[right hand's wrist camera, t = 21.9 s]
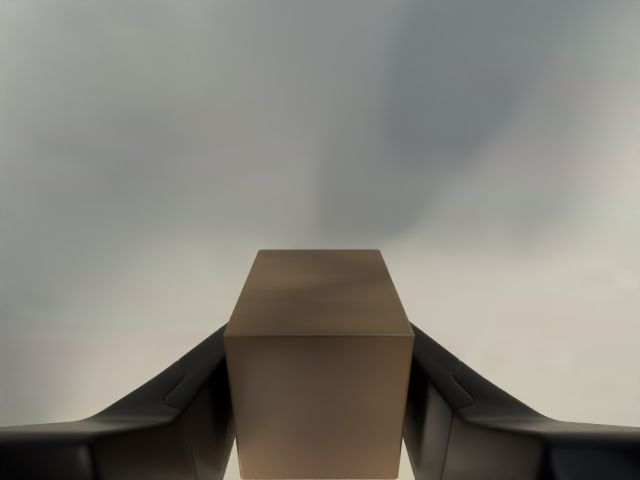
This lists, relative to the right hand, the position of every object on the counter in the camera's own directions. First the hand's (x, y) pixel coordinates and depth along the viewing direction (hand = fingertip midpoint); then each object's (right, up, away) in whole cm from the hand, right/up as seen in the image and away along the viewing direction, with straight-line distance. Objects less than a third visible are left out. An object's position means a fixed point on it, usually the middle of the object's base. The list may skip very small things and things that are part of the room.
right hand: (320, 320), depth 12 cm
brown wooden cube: (0, 0, +1) cm, 1 cm away
